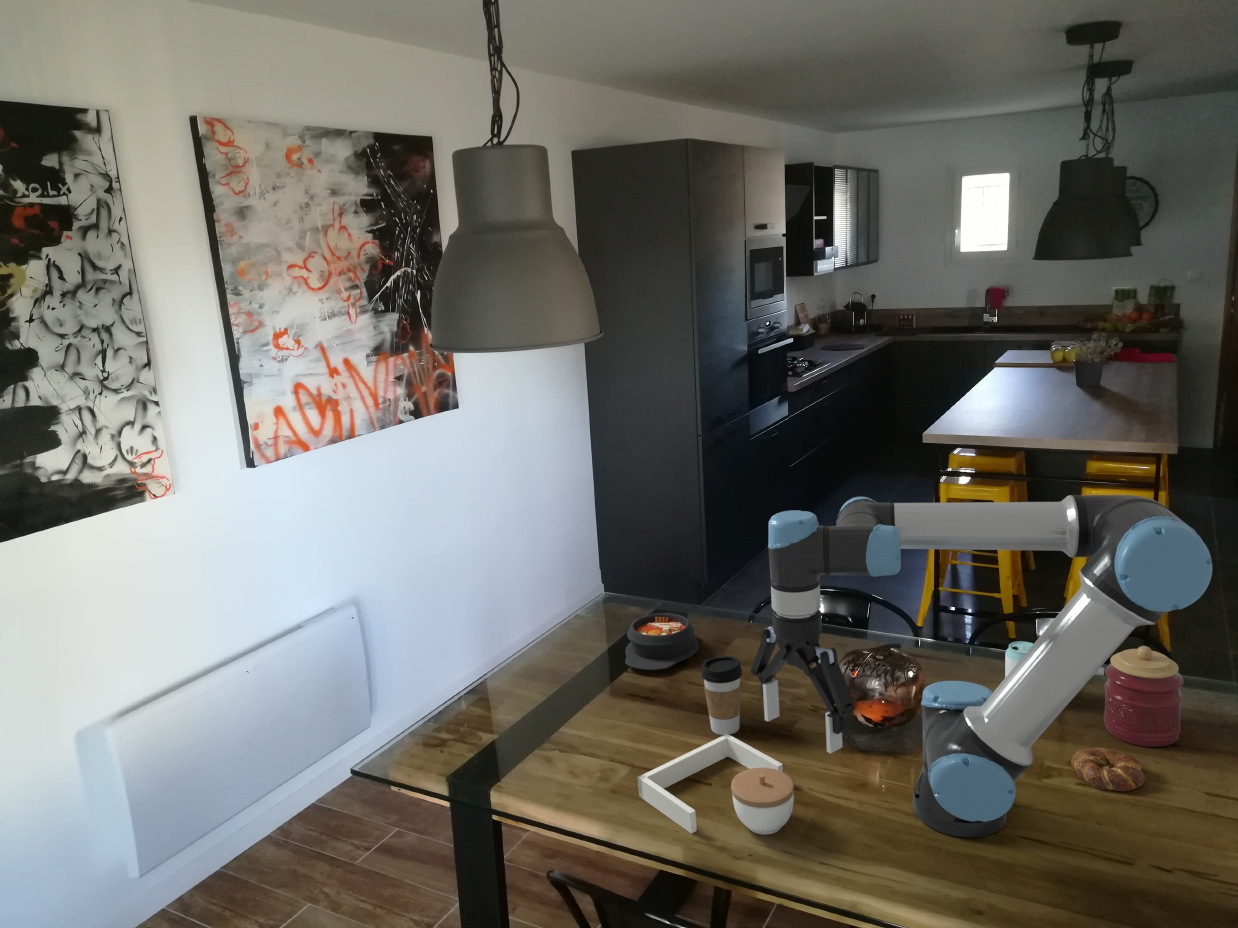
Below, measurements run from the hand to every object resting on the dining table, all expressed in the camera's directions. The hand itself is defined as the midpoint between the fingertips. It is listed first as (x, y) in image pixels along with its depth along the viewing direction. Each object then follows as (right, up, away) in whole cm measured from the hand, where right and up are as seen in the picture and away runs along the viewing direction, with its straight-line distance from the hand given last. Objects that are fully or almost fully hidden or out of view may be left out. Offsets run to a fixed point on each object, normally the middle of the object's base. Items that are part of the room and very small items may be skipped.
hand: (802, 733), depth 145 cm
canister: (+72, -9, +30) cm, 79 cm away
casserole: (-18, -5, +82) cm, 85 cm away
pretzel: (+58, -13, +17) cm, 62 cm away
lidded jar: (-4, -19, +12) cm, 23 cm away
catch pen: (-12, -17, +23) cm, 31 cm away
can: (+56, -7, +45) cm, 73 cm away
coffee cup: (-7, -12, +45) cm, 47 cm away
